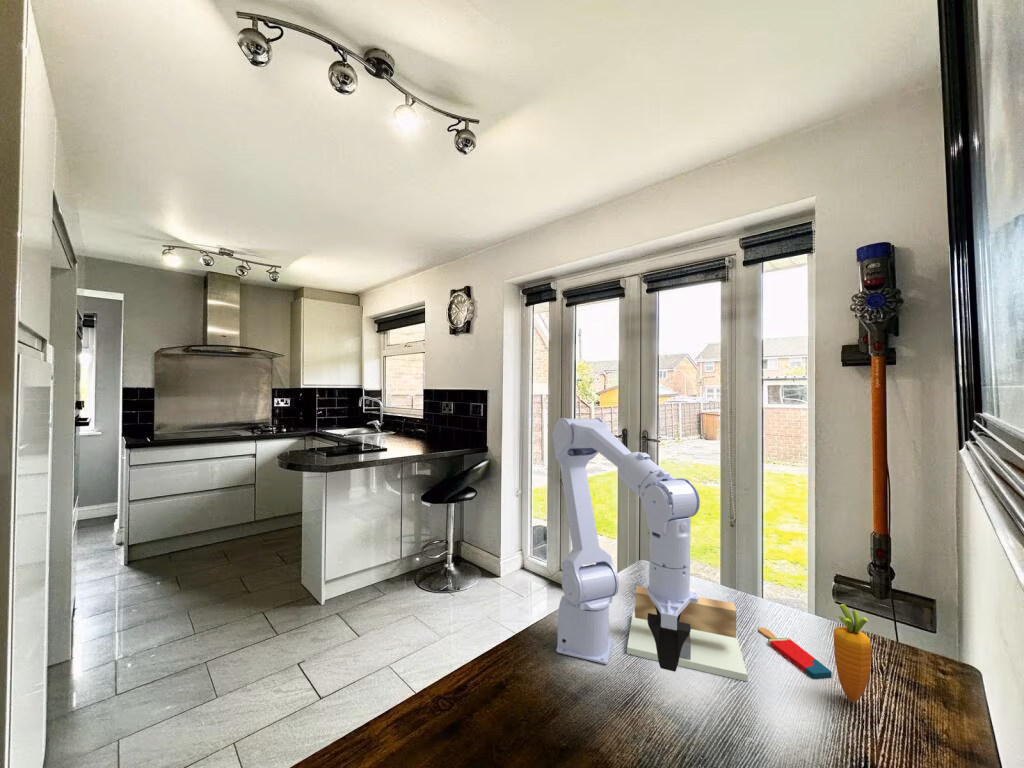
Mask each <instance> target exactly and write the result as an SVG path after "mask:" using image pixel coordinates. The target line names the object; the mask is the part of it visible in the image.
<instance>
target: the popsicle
mask: <svg viewBox="0 0 1024 768" xmlns="http://www.w3.org/2000/svg"><path fill="white" fill-rule="evenodd" d="M757 629H758V631H759V633H761V634H762V635H763V636H765V637H766V638H768V639H767V645H768V646H769V647H770V648H772V649H773V650H775V651H776V652H777V653H778V654H780V656H782V657H784V658H785V659H787V661H789V662H790V663H791V664H793V666H795V667H797V669H799V670H800V671H802V672H803V673H804V674H805V675H807V676H808V677H809V678H810V679H812V680H823V679H824V680H825V679H832V677H833V676H832V671H831V670H830V669H829V668H828V667H827V666H825V665H824V664H823V663H821V662H820V660H819V661H818V659H816V658H815V657H813V656H812V655H811V654H810V653H808V652H807V650H805V649H803V648H802V647H801V646H799V645H798V644H797V643H796V642H795V641H793V640H792V639H791V638H789V637H780V638H778V637H777V636H776V635H775V634H774V633H773V632H771V631H770V630H769V629H768V628H765V627H758V628H757Z"/></svg>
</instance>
